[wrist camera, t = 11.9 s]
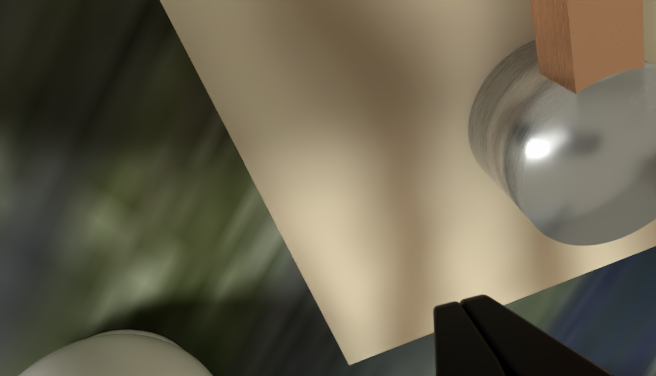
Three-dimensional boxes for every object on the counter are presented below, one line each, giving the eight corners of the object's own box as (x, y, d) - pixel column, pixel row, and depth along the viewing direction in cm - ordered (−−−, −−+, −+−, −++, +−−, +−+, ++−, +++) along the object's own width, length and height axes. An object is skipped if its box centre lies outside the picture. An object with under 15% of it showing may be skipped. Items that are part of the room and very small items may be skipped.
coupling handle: (624, 153, 21) (706, 206, 17) (483, 206, 21) (535, 270, 18) (598, -332, 13) (734, -419, 10) (381, -242, 14) (434, -294, 10)
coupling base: (343, 342, 26) (350, 368, 25) (154, -29, 17) (147, -23, 15) (765, 176, 25) (799, 193, 24) (811, -312, 16) (870, -333, 14)
